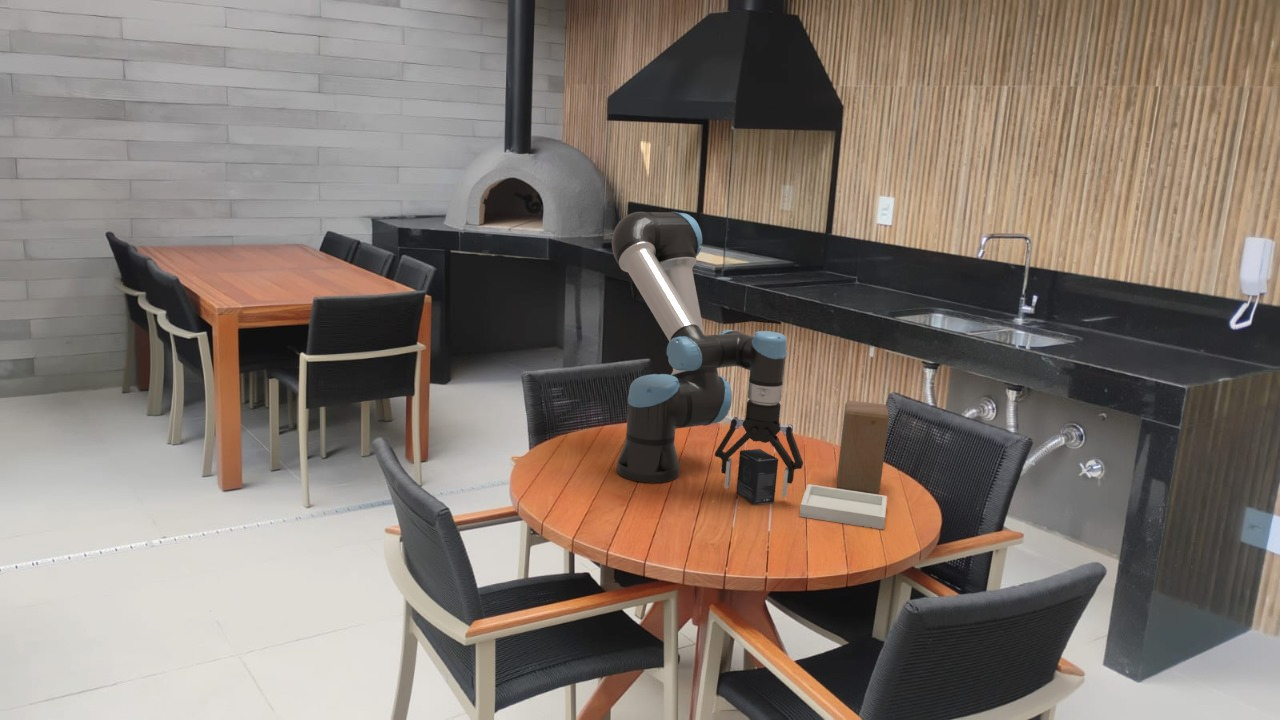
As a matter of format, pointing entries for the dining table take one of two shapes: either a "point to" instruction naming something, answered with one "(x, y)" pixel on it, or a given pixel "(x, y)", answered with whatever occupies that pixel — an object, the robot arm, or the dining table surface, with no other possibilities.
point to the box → (757, 476)
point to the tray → (844, 506)
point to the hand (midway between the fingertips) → (755, 491)
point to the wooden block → (862, 447)
